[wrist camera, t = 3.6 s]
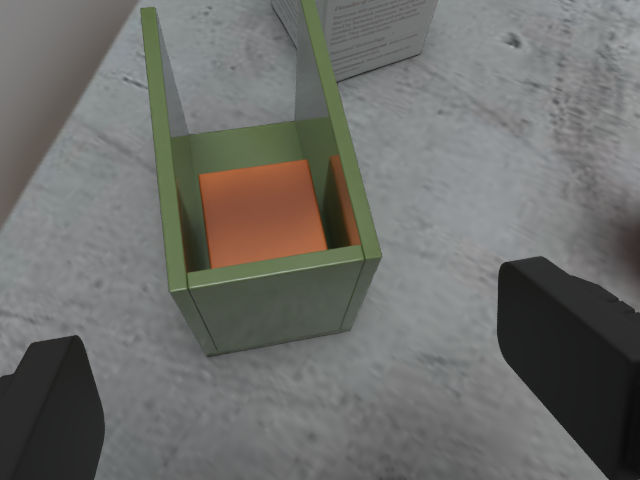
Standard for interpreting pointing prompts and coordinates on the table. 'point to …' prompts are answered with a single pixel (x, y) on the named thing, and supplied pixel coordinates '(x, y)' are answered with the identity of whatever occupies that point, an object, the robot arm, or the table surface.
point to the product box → (365, 30)
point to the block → (260, 213)
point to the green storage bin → (249, 151)
